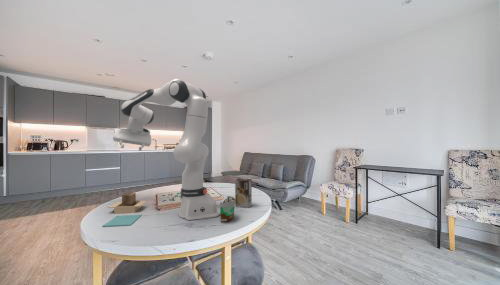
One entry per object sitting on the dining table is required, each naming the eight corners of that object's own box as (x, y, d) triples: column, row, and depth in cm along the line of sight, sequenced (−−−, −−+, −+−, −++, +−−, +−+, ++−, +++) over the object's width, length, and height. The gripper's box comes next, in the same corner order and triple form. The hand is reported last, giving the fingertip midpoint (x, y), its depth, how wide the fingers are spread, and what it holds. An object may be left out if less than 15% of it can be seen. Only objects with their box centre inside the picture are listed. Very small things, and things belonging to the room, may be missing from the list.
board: (141, 215, 100) (141, 214, 100) (130, 225, 88) (130, 224, 88) (117, 216, 99) (117, 215, 99) (102, 226, 87) (102, 225, 87)
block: (135, 208, 111) (135, 192, 111) (131, 211, 106) (131, 195, 106) (126, 208, 111) (126, 193, 111) (121, 211, 106) (121, 195, 106)
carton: (147, 206, 115) (147, 200, 115) (140, 212, 105) (140, 206, 105) (118, 207, 113) (118, 201, 113) (108, 213, 102) (108, 207, 102)
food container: (231, 224, 90) (232, 203, 90) (219, 223, 91) (219, 202, 91) (238, 215, 102) (238, 196, 102) (227, 214, 103) (227, 195, 103)
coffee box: (252, 204, 119) (252, 179, 119) (249, 207, 113) (249, 181, 113) (238, 203, 122) (238, 178, 122) (234, 206, 115) (234, 180, 115)
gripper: (115, 124, 114) (111, 143, 107) (152, 131, 126) (150, 149, 118) (114, 130, 118) (109, 148, 111) (150, 136, 130) (148, 154, 122)
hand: (131, 148), depth 115 cm, fingers open, 8 cm apart
